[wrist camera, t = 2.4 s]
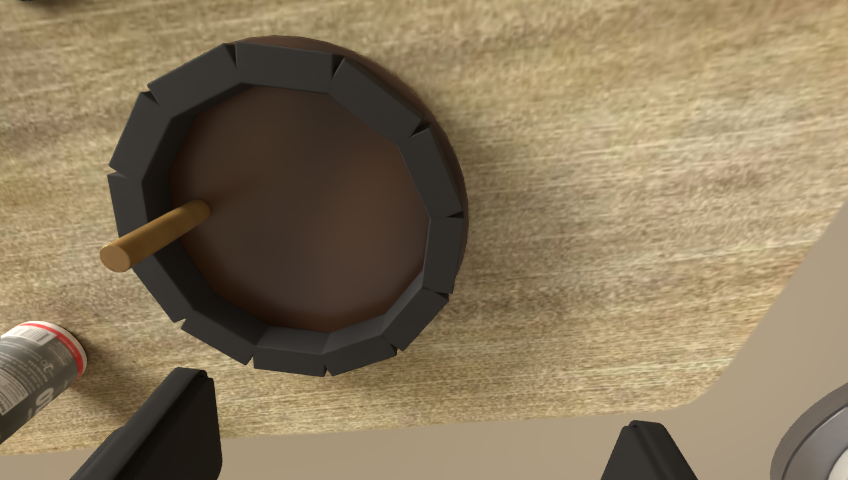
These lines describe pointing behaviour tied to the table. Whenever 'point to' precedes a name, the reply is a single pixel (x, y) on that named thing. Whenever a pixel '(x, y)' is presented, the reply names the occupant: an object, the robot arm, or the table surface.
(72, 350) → the pill bottle
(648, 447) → the robot arm
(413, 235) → the peg stand
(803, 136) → the table surface
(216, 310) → the ring
